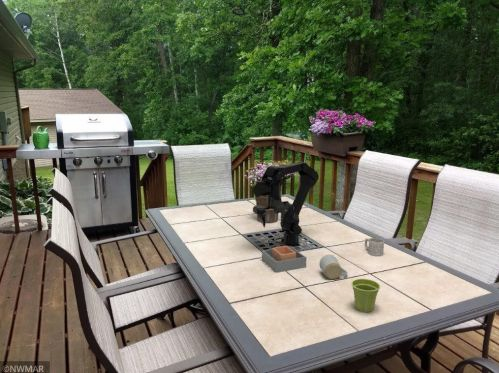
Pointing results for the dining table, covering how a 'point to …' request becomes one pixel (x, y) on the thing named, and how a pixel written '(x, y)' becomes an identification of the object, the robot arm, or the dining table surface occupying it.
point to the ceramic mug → (331, 267)
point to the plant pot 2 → (365, 294)
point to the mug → (375, 246)
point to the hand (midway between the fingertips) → (273, 226)
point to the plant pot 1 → (270, 215)
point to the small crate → (283, 253)
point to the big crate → (284, 261)
